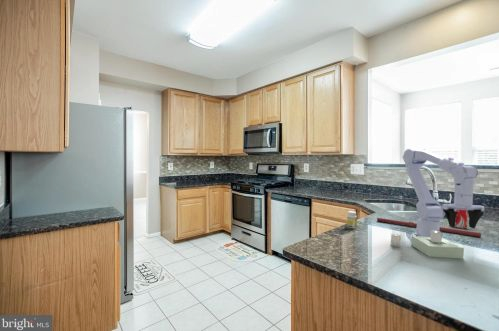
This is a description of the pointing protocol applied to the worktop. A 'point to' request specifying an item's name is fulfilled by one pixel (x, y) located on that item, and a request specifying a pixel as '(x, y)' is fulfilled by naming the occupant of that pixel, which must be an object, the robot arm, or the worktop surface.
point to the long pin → (436, 237)
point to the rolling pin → (445, 229)
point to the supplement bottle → (351, 219)
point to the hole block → (437, 248)
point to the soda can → (461, 218)
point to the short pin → (396, 240)
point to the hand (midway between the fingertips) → (461, 227)
